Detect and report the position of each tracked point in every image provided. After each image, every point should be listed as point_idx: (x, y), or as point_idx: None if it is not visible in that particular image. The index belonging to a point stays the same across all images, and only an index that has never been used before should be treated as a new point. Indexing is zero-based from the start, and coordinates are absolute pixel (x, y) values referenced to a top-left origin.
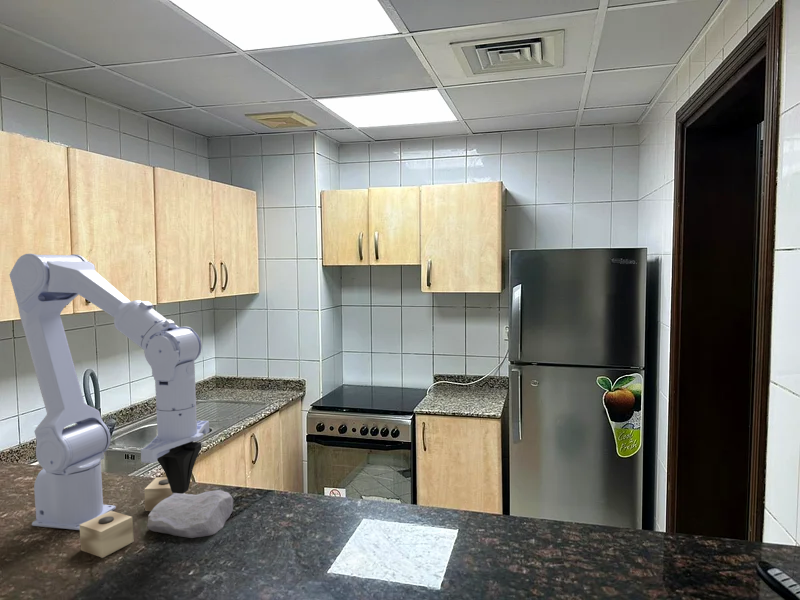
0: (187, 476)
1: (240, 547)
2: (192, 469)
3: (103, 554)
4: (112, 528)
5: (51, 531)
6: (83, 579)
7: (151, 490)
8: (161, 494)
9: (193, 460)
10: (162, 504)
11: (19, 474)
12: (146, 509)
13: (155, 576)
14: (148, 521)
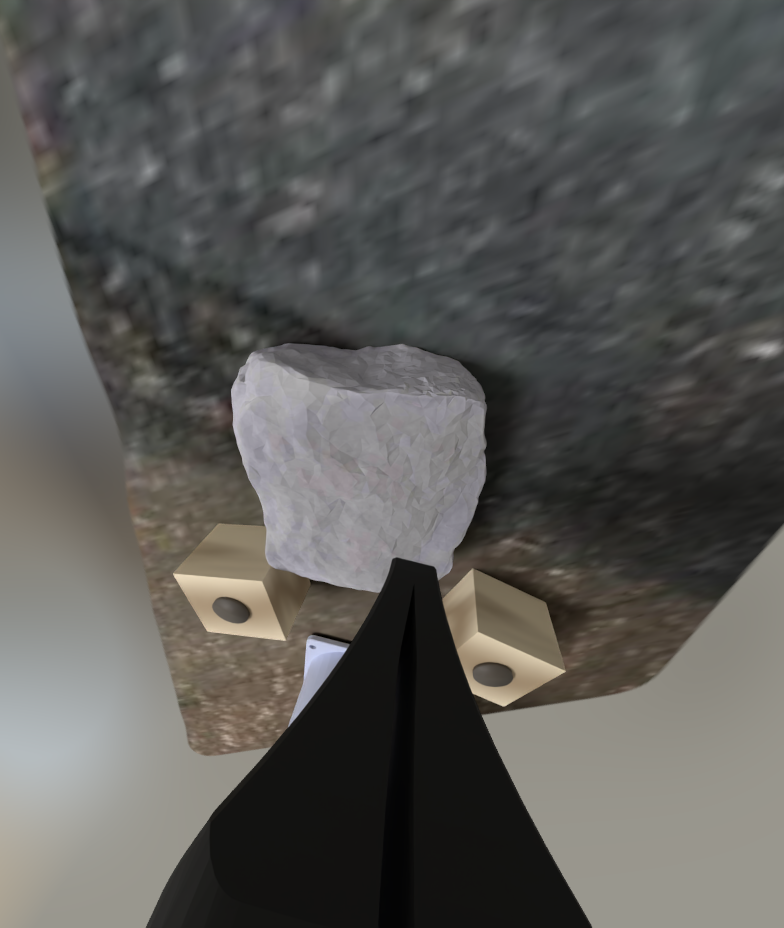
0: (415, 632)
1: (614, 178)
2: (359, 645)
3: (546, 607)
4: (535, 651)
5: None
6: (647, 609)
7: (282, 622)
8: (281, 591)
9: (348, 725)
10: (365, 579)
11: (219, 746)
12: (308, 585)
13: (725, 464)
14: None
